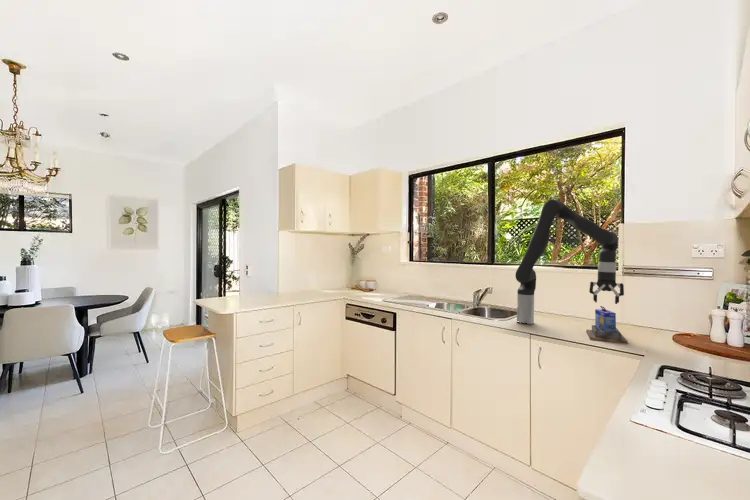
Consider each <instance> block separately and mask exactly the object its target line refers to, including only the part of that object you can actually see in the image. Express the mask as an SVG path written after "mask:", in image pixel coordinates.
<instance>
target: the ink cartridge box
mask: <svg viewBox="0 0 750 500" xmlns="http://www.w3.org/2000/svg"><path fill="white" fill-rule="evenodd" d="M600 308H601V309H599V308H597V309H596V308H595V309H594V314H595V315H594V317H595V319H594V321H595V323H594V324H595V328H596V329H597V331H604V332H614V333H616V328H617V323H616V322H617V321H616V320H617V316H616V315H617V314H616V312H614V311H611V310H608V309H606V307H604V306H601V305H600Z"/></svg>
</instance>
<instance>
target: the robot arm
mask: <svg viewBox="0 0 750 500" xmlns="http://www.w3.org/2000/svg"><path fill="white" fill-rule="evenodd" d="M555 218H558V219H561V220H564V221H566V222H568V223H569V224H570V225H572V227H574V228H575V229H576V230H578V231H579V232H581V233H583V234H585V235H586V236H588V237H590V238H591V239H593V240H594V241H595V242H597V243H598V244H599V245H601V250H599V253H598V265H597V281H590V282H589V289H588V290H589V291H588V292H589V293H590V294H591V295H592V296H593V297H592V299H593V302H594V303H598V294H599V293H600V292H601V291H603V292H606V291H607V292H612V293H613V294H614V295H615V296H614V304H616V305H617V304H618V303H620V297H621V296H622V297H623V296H624V295H625V291H624V289H625V287H624V283H622V282H620V283H618V282H616V281H617V280H616V279H617V276H616V275H617V266H616V265H617V263H616V260H617V259H616V256H617V255H616V254H617V248H618V244H619V237H618V235H617V234H616V233H615V232H614V231H613V232H612V231H608V230H606V229H604V228H602V227H601V226H600V225H599V224H598V223H596V222H594V221H592V220H589V219H588V218H586V217H584V216H583V215H581V214H578V213H577V212H575V211H573V210H572V209H571V208H570V207H568V206H567V205H566V204H564V202H563V201H561V200H557V199H548V200H546V201H545V202H544V203H543V206H542V208H541V213H540V215H539V218H538V221H537V224H536V226H535V229H534V232H533V234H532V236H531V238H530V240H529V243H528V246H527V248H526V249H525V250H526V251H525V253H524V256H523V258H522V260H521V262H520V264H519V266H518V267H517V269H516V272H515V279H516V282H518V283H519V285H520V286H519V287H518V289H517V295H516V296H517V303H516V304H517V305H516V306H517V307H516V322H517V321H519V322H522V323H527V324H526V325H533V323H535V291H536V286H537V274H536V270H535V269H534V267H535V265H536V262H537V261H538V260H539V259H540V258H541V256H542V255H543V254H544V252H545V251H546V249H547V246H548V244H549V241H550V237H551V226H552V223H553V222H554V219H555ZM595 286H597V288H596V289H595V291H594V287H595ZM615 288H619V292H618V291H617V290H616V289H615ZM522 323H521V324H522Z"/></svg>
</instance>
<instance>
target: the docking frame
mask: <svg viewBox="0 0 750 500" xmlns="http://www.w3.org/2000/svg"><path fill="white" fill-rule="evenodd" d="M585 332H586V334H587V336H588V338H589V340H591V341H597V342H606V343H607V342H608V343H616V344H625V345H626V344H627V345H628V344H629V343H628V340H627V339H626V337H625V336H624V335H623V334H622V333H621V331H619V329H618V328H617V327H616V333H614V332H604V331H597V329H596V328H595V325H594V324H591V329H586V331H585Z"/></svg>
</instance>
